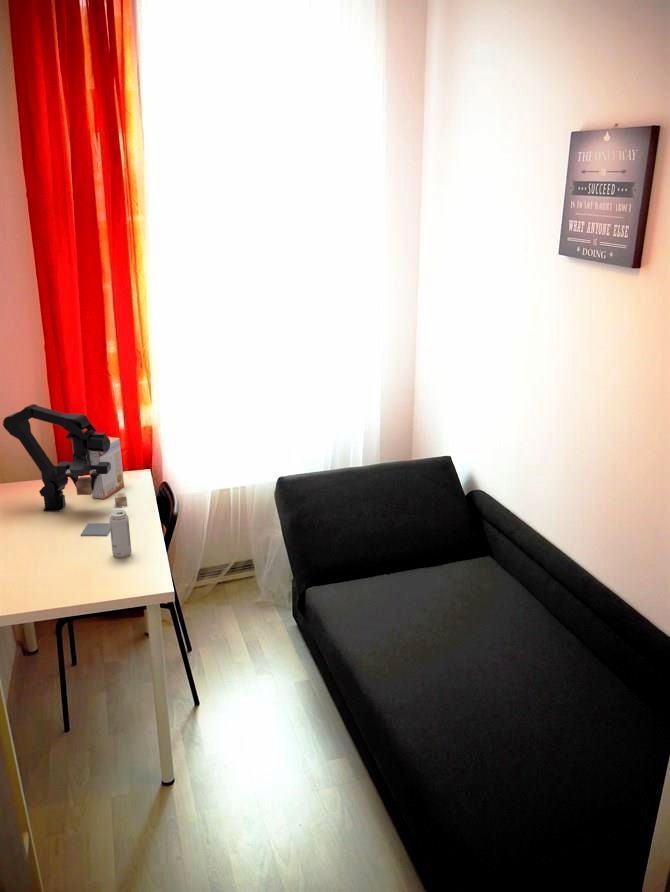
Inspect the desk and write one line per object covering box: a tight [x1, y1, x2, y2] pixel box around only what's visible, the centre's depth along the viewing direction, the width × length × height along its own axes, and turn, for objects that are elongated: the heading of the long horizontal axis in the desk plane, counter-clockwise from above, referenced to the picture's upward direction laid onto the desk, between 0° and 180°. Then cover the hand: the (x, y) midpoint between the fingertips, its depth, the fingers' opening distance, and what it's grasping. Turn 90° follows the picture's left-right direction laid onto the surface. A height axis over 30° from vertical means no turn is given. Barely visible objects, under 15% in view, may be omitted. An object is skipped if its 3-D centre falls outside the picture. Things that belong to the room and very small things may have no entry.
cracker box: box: [89, 436, 125, 500], centre depth 292 cm, size 14×6×21 cm, turn 162°
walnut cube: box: [75, 476, 95, 496], centre depth 275 cm, size 5×5×5 cm
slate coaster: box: [80, 522, 110, 537], centre depth 263 cm, size 9×9×1 cm
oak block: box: [113, 492, 128, 508], centre depth 283 cm, size 4×4×4 cm
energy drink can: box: [108, 509, 132, 559], centre depth 244 cm, size 6×6×15 cm
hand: (85, 489), depth 275 cm, fingers closed on walnut cube, 5 cm apart
